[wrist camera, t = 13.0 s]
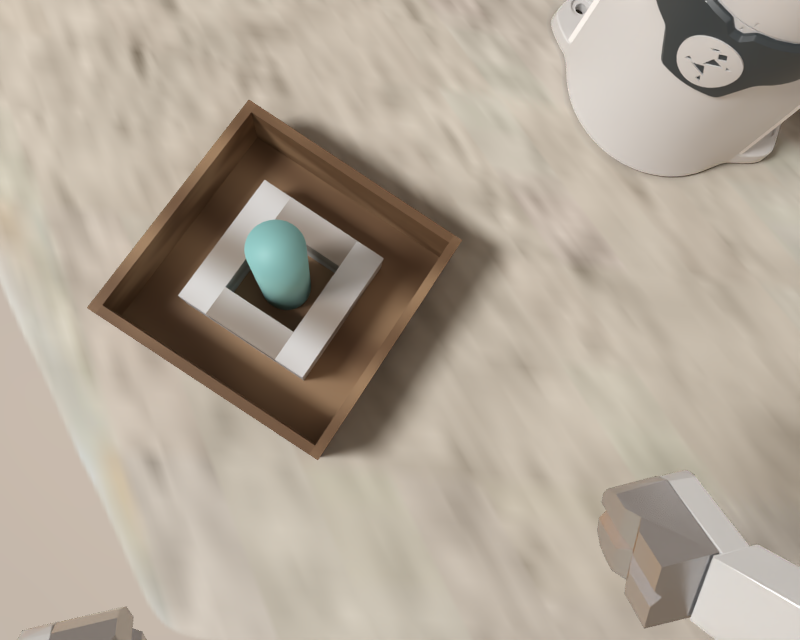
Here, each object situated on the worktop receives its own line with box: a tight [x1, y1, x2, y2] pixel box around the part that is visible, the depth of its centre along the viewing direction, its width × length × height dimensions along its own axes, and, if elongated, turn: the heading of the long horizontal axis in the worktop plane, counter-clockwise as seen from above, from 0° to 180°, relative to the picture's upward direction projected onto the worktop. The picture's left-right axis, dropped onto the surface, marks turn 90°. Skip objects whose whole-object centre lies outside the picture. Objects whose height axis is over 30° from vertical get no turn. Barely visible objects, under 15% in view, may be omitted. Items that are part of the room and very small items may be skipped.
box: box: [87, 100, 462, 460], centre depth 41 cm, size 16×16×4 cm
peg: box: [244, 220, 311, 310], centre depth 39 cm, size 3×3×9 cm
